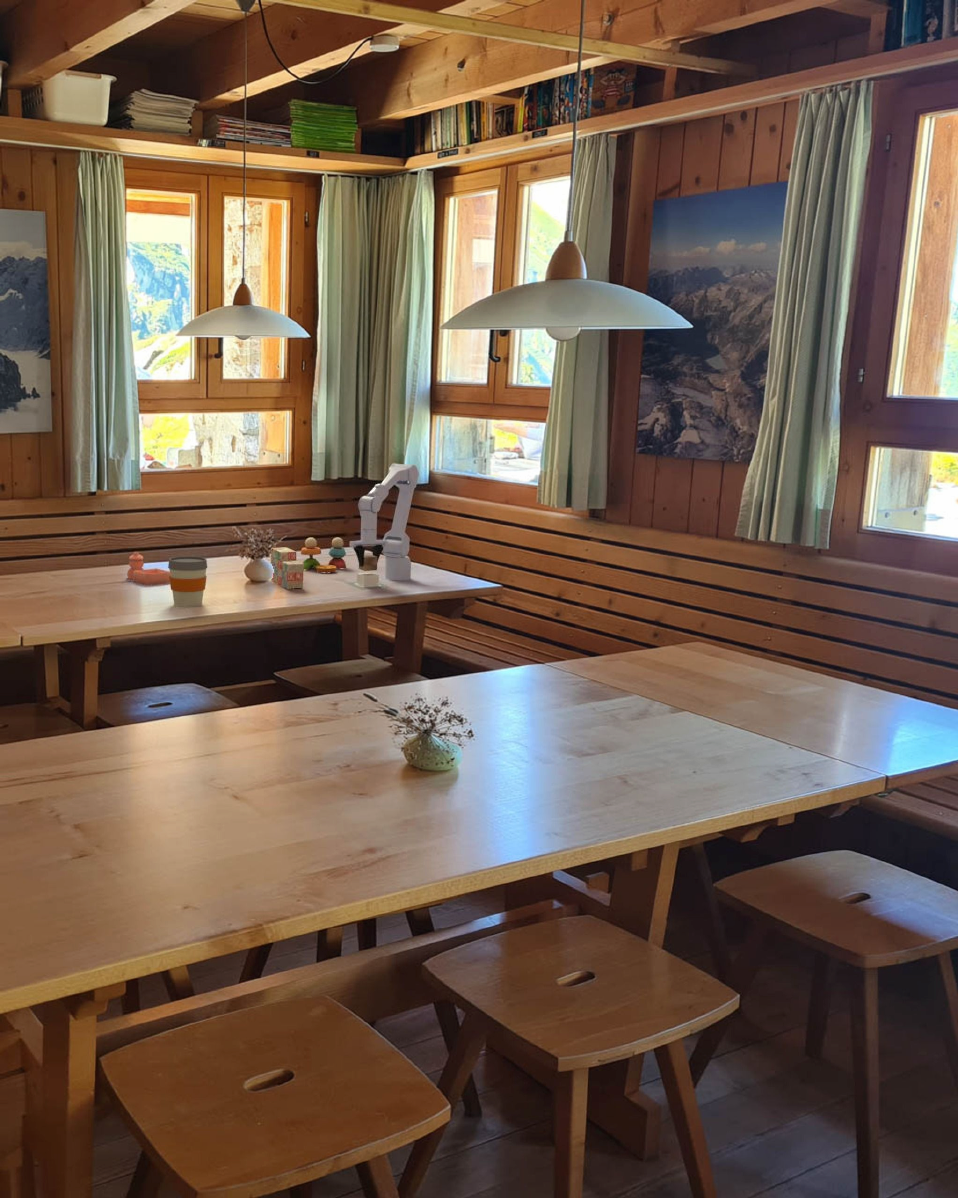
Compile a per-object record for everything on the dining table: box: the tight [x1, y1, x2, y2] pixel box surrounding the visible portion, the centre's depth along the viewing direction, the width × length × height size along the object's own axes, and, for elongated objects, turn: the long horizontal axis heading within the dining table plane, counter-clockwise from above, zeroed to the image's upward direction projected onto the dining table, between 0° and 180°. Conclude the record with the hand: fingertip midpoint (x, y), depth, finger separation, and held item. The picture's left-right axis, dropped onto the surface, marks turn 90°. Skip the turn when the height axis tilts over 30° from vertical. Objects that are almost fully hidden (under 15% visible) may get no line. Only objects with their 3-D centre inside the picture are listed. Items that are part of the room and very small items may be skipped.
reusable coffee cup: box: [167, 555, 208, 608], centre depth 390 cm, size 13×13×15 cm
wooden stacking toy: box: [300, 537, 347, 574], centre depth 468 cm, size 18×17×12 cm
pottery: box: [126, 551, 170, 587], centre depth 429 cm, size 18×10×10 cm, turn 48°
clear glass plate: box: [345, 581, 390, 590], centre depth 436 cm, size 12×14×1 cm
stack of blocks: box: [270, 547, 305, 590], centre depth 433 cm, size 21×6×12 cm, turn 25°
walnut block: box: [358, 554, 378, 572], centre depth 435 cm, size 5×5×5 cm
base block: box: [356, 571, 380, 587], centre depth 436 cm, size 6×6×4 cm
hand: (368, 565), depth 435 cm, fingers closed on walnut block, 5 cm apart
